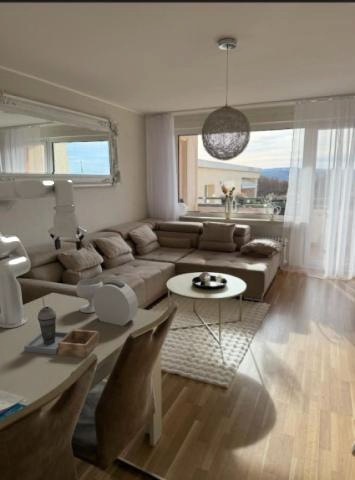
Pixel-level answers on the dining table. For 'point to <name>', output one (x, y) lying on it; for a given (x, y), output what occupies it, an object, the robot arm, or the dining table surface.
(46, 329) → the beverage cup
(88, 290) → the chalice
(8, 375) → the dining table surface
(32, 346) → the tray
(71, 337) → the holder
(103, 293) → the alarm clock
